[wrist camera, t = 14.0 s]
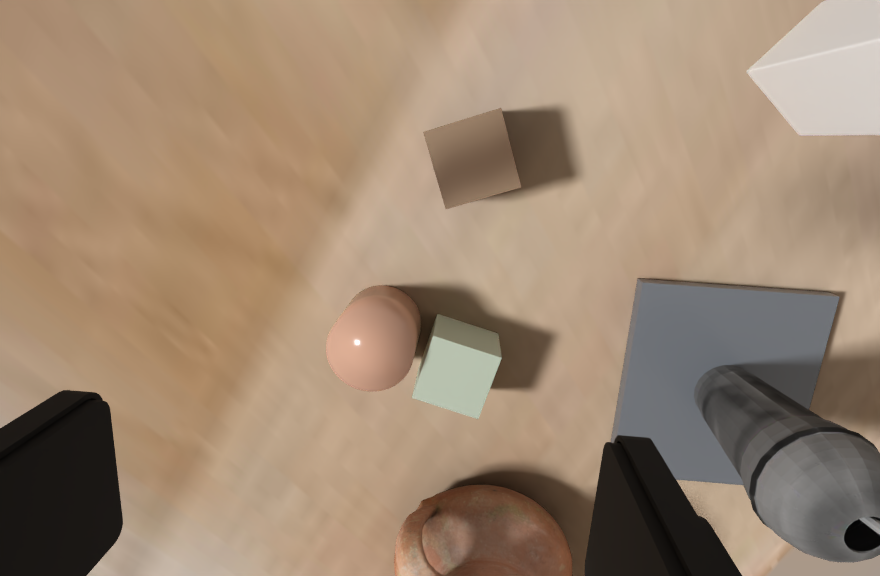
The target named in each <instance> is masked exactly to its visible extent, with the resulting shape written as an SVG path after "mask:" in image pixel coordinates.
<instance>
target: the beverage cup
mask: <svg viewBox="0 0 880 576" xmlns="http://www.w3.org/2000/svg"><path fill="white" fill-rule="evenodd" d="M694 399H695V403H696V405H697V407H698V408H699V410H700V412H701V415H702V417H703V418H704V420H705V421H706V423H707V425H708V426H709V428H710V429H711V431H712V433H713V434H714V436H715V437H716V439H717V440H718V442H719V444H720V445H721V447H722V448H723V450H724V452H725V453H726V455H727V456H728V458H729V460H730V461H731V463H732V464H733V466H734V467H735V469H736V471H737V472H738V474H739V475H740V477H741V479H742V481H743V485H744V488H745V490H746V492H747V494H748V497H749V499H750V500H751V504H752V508H753V510H754V512H755V513H756V514H757V516H758V517H759V518H760V520H761V521H762V523H763V524H765V525H766V526H767V527H769V528H770V529H772V530H773V531H774V532H775V533H776V534H777V535H778V536H779V537H781V538H782V539H783V540H785V541H786V542H788V543H789V544H791V545H792V546H794V547H795V548H797V549H798V550H800V551H802V552H804V553H806V554H809V555H812V556H814V557H818V558H821V559H825V560H828V561H834V562H858V561H863V560H867V559H871V558H874V557H876V556H878V555H880V453H879V452H878V450H877V448H876V447H875V446H874V444H873V443H871V442H870V441H868V440H867V439H866V438H864V437H863V436H861V435H860V434H859V433H856V432H853V431H850V430H847V429H846V428H844V427H842V426H840V425H837V424H835V423H833V422H831V421H828V420H825V419H822V418H821V417H819V416H818V415H816V414H815V413H813V412H811V411H810V410H808V409H807V408H805V407H804V406H802V405H801V404H799V403H797V402H796V401H794V400H793V399H791V398H790V397H788V396H786V395H785V394H783V393H782V392H780V391H779V390H777V389H775V388H774V387H772V386H771V385H769V384H768V383H766V382H764V381H763V380H761V379H760V378H758V377H757V376H755V375H754V374H750V373H749V372H747V371H745V370H744V369H742V368H740V367H737V366H734V365H722V366H718V367H715V368H712V369H711V370H709V371H707V372H706V373H705V374H704V375H703V376H702V377H701V378H700V379H699V380H698V382H697V384H696V386H695V390H694Z"/></svg>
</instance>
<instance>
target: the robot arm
mask: <svg viewBox="0 0 880 576" xmlns="http://www.w3.org/2000/svg"><path fill="white" fill-rule="evenodd" d="M122 525H123V519H122V510H121V501H120V492H119V483H118V475H117V466H116V457H115V448H114V440H113V431H112V422H111V413H110V407H109V405H108V403H107V402H105V401H103V400H102V398H101V396H100V395H99V394H97V393H94V392H82V391H70V390H63V391H61V392H59V393H57V394H55V395H54V396H52V397H50V398H49V399H47V400H46V401H44V402H42V403H41V404H39V405H38V406H36V407H34V408H33V409H31V410H29V411H28V412H26V413H25V414H23V415H21V416H20V417H18V418H17V419H15V420H13V421H12V422H10V423H8V424H7V425H5V426H4V427H2V428H0V576H86V575H87V574H88V573H89V572H90V571H91V570H92V569H93V567H94V566H95V565H96V564H97V563H98V562H99V561H100V559H101V558H102V557H103V556H104V555H105V554H106V553H107V551H108V550H109V549H110V548H111V547H112V546H113V545H114V543H115V542H116V541H117V539H118V537H119V535H120V533H121V530H122ZM585 576H742V575H741V573H740V572H739V570H738V568H737V567H736V565H735V564H734V562H733V560H732V559H731V557H730V556H729V554H728V552H727V551H726V549H725V548H724V546H723V544H722V543H721V541H720V540H719V538H718V536H717V535H716V533H715V532H714V530H713V528H712V527H711V525H710V524H709V523H708V522H707V520H706V519H705V518H702V517H700V516H697V514H696V512H695V511H694V509H693V507H692V506H691V504H690V502H689V501H688V499H687V497H686V496H685V494H684V492H683V491H682V489H681V487H680V486H679V484H678V482H677V481H676V479H675V477H674V476H673V474H672V472H671V471H670V469H669V468H668V466H667V464H666V463H665V461H664V459H663V458H662V456H661V454H660V453H659V451H658V449H657V448H656V446H655V444H654V443H653V441H652V440H651V439H650V438H647V437H635V436H623V435H618V436H617V437H616V438H615V440H614V443H611V442H607V443H605V446H604V449H603V455H602V461H601V467H600V473H599V480H598V486H597V492H596V498H595V504H594V511H593V517H592V523H591V529H590V535H589V542H588V548H587V554H586V560H585Z"/></svg>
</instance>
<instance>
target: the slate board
mask: <svg viewBox="0 0 880 576" xmlns="http://www.w3.org/2000/svg"><path fill="white" fill-rule="evenodd" d="M838 301H839V296H837V295H835V294H832V293H830V292H820V291H806V290H792V289H778V288H765V287H751V286H737V285H723V284H709V283H695V282H681V281H667V280H653V279H639V278H638V280H637V286H636V292H635V298H634V304H633V310H632V316H631V322H630V328H629V334H628V341H627V347H626V353H625V359H624V365H623V371H622V377H621V383H620V389H619V395H618V401H617V407H616V413H615V419H614V426H613V432H612V438H611V443H614V440H615V438H616V437H617V436H618V435H623V436H635V437H647V438H650V439H651V440H652V441H653V443H654V444H655V446H656V448H657V449H658V451H659V453H660V454H661V456H662V458H663V459H664V461H665V463H666V464H667V466H668V468H669V469H670V471H671V472H672V474H673V476H674V477H675V479H676V480H688V481H700V482H712V483H724V484H736V485H743V481H742V479H741V477H740V475H739V474H738V472H737V471H736V469H735V467H734V466H733V464H732V463H731V461H730V460H729V458H728V456H727V455H726V453H725V452H724V450H723V448H722V447H721V445H720V444H719V442H718V440H717V439H716V437H715V436H714V434H713V433H712V431H711V429H710V428H709V426H708V425H707V423H706V421H705V420H704V418H703V417H702V415H701V412H700V410H699V408H698V407H697V405H696V403H695V399H694V390H695V386H696V384H697V382H698V380H699V379H700V378H701V377H702V376H703V375H704V374H705V373H706V372H707V371H709V370H711V369H712V368H715V367H718V366H722V365H734V366H737V367H740V368H742V369H744V370H745V371H747V372H749V373H750V374H754V375H755V376H757V377H758V378H760V379H761V380H763V381H764V382H766V383H768V384H769V385H771V386H772V387H774V388H775V389H777V390H779V391H780V392H782V393H783V394H785V395H786V396H788V397H790V398H791V399H793V400H794V401H796V402H797V403H799V404H801V405H802V406H804V407H805V408H807V409H808V410H809V408H810V404H811V401H812V397H813V393H814V390H815V386H816V382H817V378H818V375H819V371H820V367H821V364H822V360H823V356H824V353H825V349H826V345H827V342H828V338H829V334H830V330H831V327H832V323H833V319H834V316H835V312H836V308H837V305H838Z"/></svg>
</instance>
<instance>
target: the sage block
mask: <svg viewBox="0 0 880 576" xmlns="http://www.w3.org/2000/svg"><path fill="white" fill-rule="evenodd" d="M501 359H502V356H501V349H500V342H499V335H498V333H495V332H492V331H489V330H486V329H483V328H480V327H477V326H474V325H471V324H468V323H464V322H461V321H458V320H455V319H452V318H449V317H446V316H443V315H440V314H437V316H436V319H435V322H434V325H433V328H432V331H431V334H430V337H429V340H428V343H427V345H426V348H425V351H424V354H423V357H422V360H421V363H420V366H419V369H418V373H417V377H416V382H415V386H414V391H413V395H412V398H414V399H417V400H420V401H423V402H426V403H429V404H433V405H436V406H439V407H442V408H445V409H448V410H451V411H454V412H457V413H461V414H464V415H467V416H470V417H473V418H476V419H478V418H479V416H480V413H481V410H482V408H483V405H484V403H485V400H486V397H487V395H488V392H489V390H490V387H491V385H492V382H493V379H494V377H495V374H496V372H497V369H498V366H499V364H500V361H501Z"/></svg>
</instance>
